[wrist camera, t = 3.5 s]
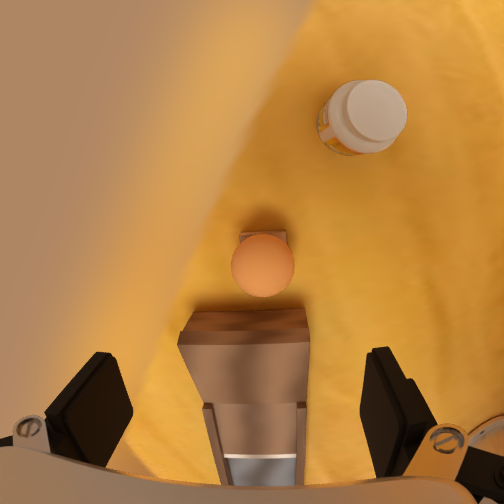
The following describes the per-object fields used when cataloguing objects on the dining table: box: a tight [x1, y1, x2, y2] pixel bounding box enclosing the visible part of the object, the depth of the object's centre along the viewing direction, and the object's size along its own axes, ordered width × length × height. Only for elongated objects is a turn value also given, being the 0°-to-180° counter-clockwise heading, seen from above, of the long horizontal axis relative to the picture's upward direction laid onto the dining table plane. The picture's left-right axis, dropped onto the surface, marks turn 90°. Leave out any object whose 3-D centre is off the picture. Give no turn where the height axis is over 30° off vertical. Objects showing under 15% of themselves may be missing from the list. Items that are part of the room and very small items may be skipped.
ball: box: [231, 234, 294, 297], centre depth 26 cm, size 5×5×5 cm
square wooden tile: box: [239, 230, 287, 245], centre depth 29 cm, size 4×4×2 cm
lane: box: [177, 308, 310, 486], centre depth 32 cm, size 11×33×6 cm, turn 4°
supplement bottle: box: [317, 80, 407, 156], centre depth 22 cm, size 5×5×10 cm
